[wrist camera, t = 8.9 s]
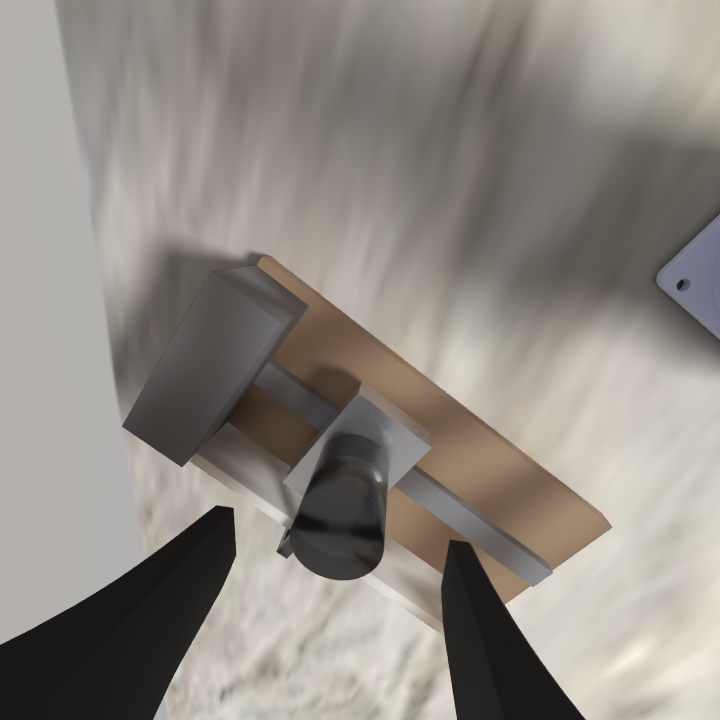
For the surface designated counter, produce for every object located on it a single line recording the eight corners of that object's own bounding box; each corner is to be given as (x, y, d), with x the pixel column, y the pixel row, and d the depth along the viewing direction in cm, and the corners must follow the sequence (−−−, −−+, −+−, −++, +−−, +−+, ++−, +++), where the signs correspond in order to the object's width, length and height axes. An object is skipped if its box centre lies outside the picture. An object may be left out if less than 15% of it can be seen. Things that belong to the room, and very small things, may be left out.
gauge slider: (429, 430, 17) (442, 523, 11) (327, 534, 19) (296, 652, 14) (362, 379, 16) (341, 449, 11) (267, 492, 19) (210, 596, 13)
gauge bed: (602, 513, 19) (668, 601, 14) (481, 602, 22) (503, 700, 17) (270, 256, 17) (217, 258, 12) (184, 391, 20) (115, 437, 15)
